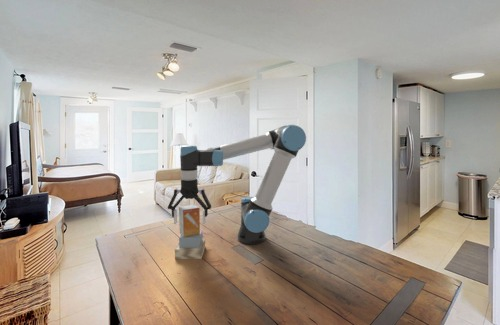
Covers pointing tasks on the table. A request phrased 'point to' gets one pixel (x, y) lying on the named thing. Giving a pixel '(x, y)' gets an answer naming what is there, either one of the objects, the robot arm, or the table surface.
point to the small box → (189, 220)
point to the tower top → (191, 241)
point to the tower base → (190, 252)
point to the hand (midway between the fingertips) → (190, 223)
